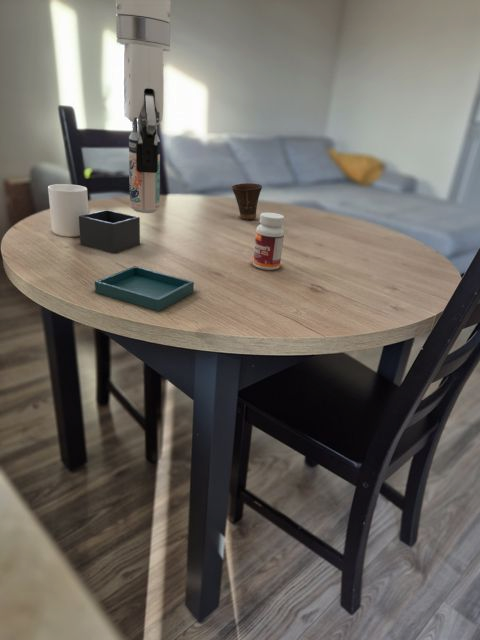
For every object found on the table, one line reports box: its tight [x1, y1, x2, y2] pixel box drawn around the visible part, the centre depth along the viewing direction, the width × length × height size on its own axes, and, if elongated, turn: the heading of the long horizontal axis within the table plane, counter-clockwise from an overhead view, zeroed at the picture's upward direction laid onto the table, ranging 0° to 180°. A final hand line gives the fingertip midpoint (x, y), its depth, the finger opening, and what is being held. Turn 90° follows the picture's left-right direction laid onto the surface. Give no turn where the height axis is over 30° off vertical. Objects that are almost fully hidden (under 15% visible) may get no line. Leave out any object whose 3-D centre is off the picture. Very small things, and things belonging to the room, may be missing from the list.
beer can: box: [128, 130, 161, 214], centre depth 78 cm, size 5×5×12 cm
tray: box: [94, 265, 195, 312], centre depth 86 cm, size 13×11×2 cm
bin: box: [79, 209, 141, 254], centre depth 108 cm, size 9×9×6 cm
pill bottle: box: [252, 212, 285, 271], centre depth 105 cm, size 6×6×11 cm
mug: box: [47, 183, 90, 238], centre depth 113 cm, size 12×8×10 cm
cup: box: [231, 182, 263, 221], centre depth 144 cm, size 9×9×10 cm
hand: (144, 167), depth 77 cm, fingers closed on beer can, 4 cm apart
